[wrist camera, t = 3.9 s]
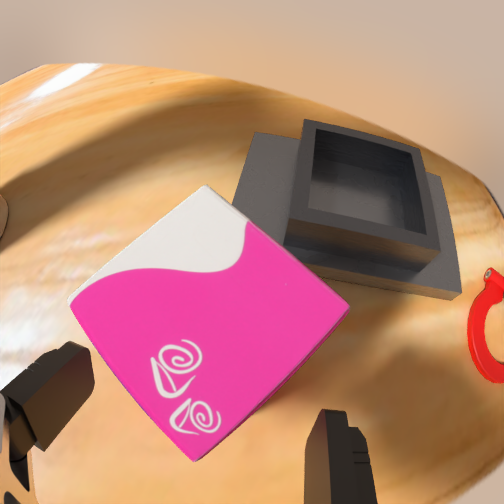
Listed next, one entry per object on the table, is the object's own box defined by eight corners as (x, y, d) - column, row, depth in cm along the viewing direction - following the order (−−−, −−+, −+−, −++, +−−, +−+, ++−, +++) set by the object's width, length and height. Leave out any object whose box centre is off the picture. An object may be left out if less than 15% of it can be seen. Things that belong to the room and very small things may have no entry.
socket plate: (220, 257, 21) (215, 219, 17) (254, 144, 27) (256, 104, 23) (451, 300, 19) (485, 275, 15) (433, 186, 25) (453, 155, 21)
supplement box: (158, 361, 17) (58, 292, 7) (227, 300, 19) (211, 172, 9) (224, 431, 15) (193, 469, 5) (293, 363, 17) (363, 295, 7)
